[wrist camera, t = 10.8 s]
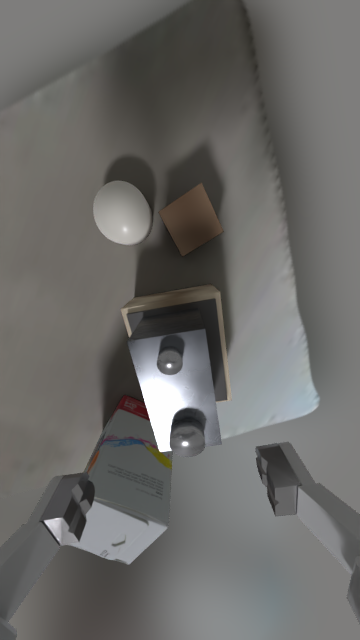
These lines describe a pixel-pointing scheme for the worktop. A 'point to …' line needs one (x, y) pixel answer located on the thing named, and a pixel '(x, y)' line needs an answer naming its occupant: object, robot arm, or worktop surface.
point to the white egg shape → (122, 213)
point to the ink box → (127, 486)
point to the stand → (211, 316)
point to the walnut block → (191, 220)
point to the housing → (176, 380)
